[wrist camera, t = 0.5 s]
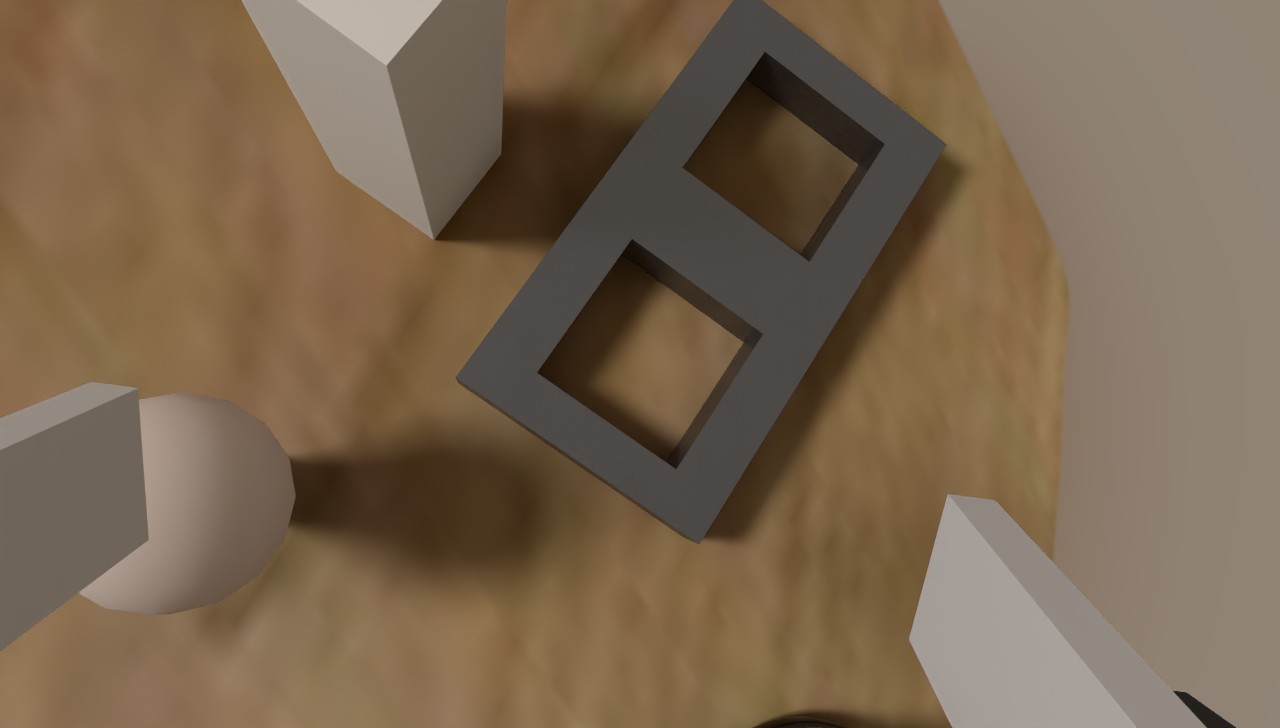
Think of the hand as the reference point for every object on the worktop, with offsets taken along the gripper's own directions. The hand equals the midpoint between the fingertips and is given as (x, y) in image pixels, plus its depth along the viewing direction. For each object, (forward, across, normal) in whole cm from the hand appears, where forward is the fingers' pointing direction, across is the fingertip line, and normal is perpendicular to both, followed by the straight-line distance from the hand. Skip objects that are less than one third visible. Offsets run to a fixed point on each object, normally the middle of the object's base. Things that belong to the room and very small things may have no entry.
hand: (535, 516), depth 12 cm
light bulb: (+16, +13, +9) cm, 23 cm away
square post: (+22, +9, -4) cm, 25 cm away
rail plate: (+24, -4, -1) cm, 24 cm away
